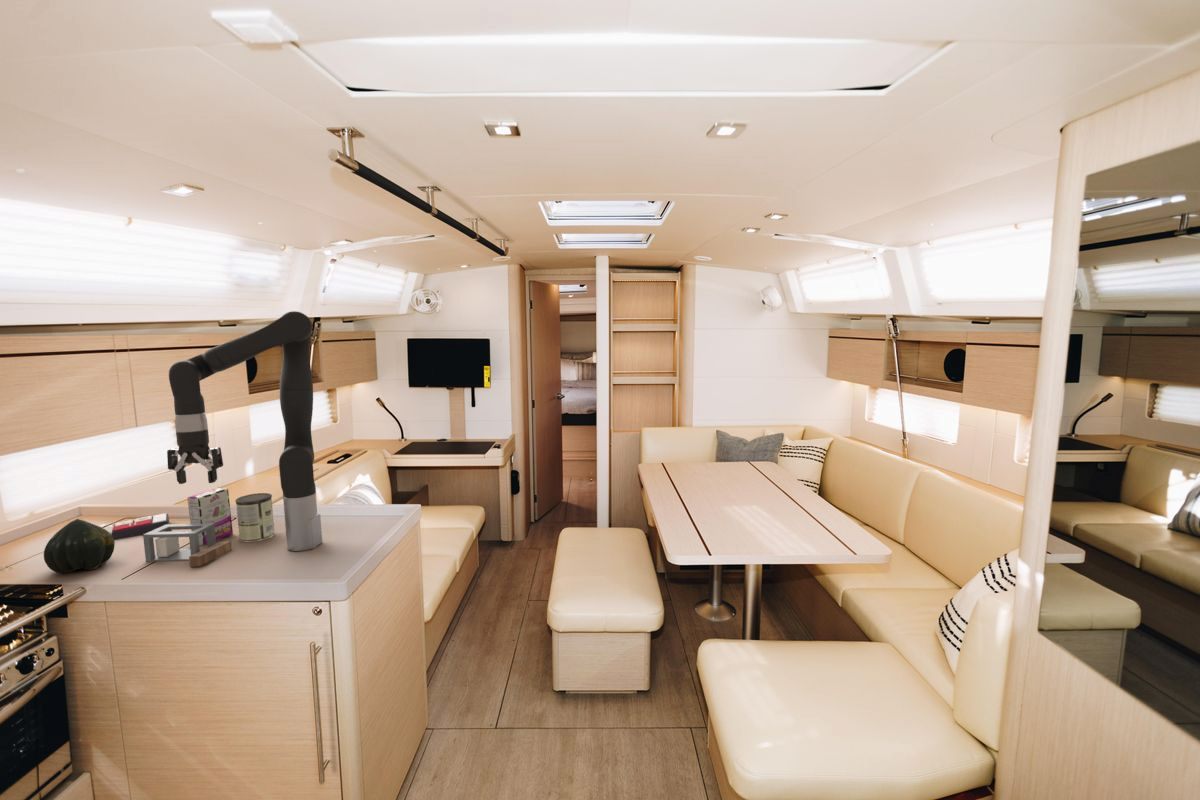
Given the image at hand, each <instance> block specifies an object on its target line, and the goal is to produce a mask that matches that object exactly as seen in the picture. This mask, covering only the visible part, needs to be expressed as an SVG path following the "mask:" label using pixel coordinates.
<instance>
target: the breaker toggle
mask: <svg viewBox="0 0 1200 800" xmlns="http://www.w3.org/2000/svg"><path fill="white" fill-rule="evenodd" d="M179 538H180V537H160V538H156V539H155V540H154V541H155V549H156V551H155V552H156V555H157V557H168V556H169V555H171V554H173V553H175V552H177V551H179V550H180V548H181V547H180V540H179Z"/></svg>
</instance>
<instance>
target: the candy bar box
mask: <svg viewBox="0 0 1200 800" xmlns="http://www.w3.org/2000/svg"><path fill="white" fill-rule="evenodd" d="M229 494H230V493H229V488H225V487H224V488H223V487H216V488H212V489H209V490H207V491H204V492H200V493H198V494H194V495H191V496H188V497H187V506H188V515H189V522H190V523H189V524H209V523H214V525H215V535H216V541H218V540H222V539H224V538H227V537H229V536H231V535H233V534H234V532H233V530H234V529H233V522H232V521H233V520H232V513H231V512H232V511H231V503H230V495H229ZM195 530H197V529H190V531H195ZM198 537H199V546H200V545H201V546H205V545H208V544H207V533H206V531H205V532H203V533H201V534H199V535H198Z"/></svg>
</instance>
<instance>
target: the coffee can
mask: <svg viewBox="0 0 1200 800" xmlns="http://www.w3.org/2000/svg"><path fill="white" fill-rule="evenodd" d="M272 497H273V496H272V494H271V493H268V492H267V493H266V492H261V493H260V492H259V493H251V494H247V495H243V496H240V497H237V498H236V499H235V506H236V514H237V517H236V518H237V525H238V533H239V535H238V537H239V541H240V542H242V543H251V542H252V543H253V542H254V543H255V542H260V541H264V540H267V539H270V538H271V539H272V538H273V537H274V536H275V535H276V533H275V524H274V514H273V500H272Z"/></svg>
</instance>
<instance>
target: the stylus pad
mask: <svg viewBox="0 0 1200 800" xmlns="http://www.w3.org/2000/svg"><path fill="white" fill-rule="evenodd" d="M216 561H218V559H217V558H215V559H213V560H211V561H210V562H208V563H206V564H204V565H202V566H201V567H207V566H208V565H211V564H212V563H213V562H216Z"/></svg>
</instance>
